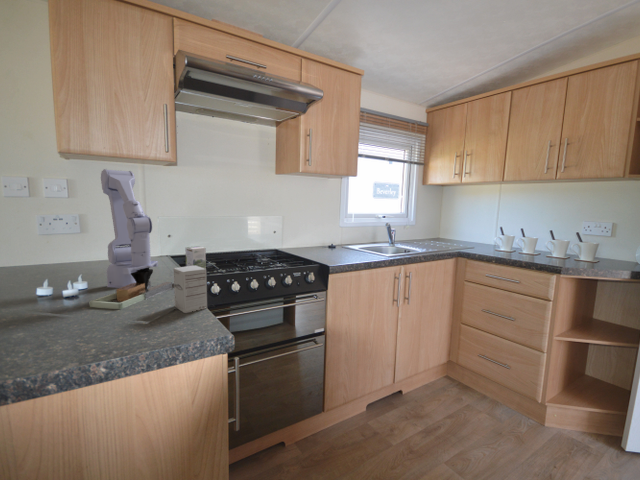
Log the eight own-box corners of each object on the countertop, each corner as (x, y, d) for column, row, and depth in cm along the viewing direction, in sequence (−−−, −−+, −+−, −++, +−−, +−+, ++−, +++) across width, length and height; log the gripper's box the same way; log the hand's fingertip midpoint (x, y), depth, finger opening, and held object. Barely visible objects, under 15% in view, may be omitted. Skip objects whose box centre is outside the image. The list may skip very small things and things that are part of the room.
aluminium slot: (114, 298, 107) (114, 290, 107) (144, 287, 121) (143, 280, 120) (146, 300, 105) (146, 292, 105) (173, 289, 119) (172, 282, 119)
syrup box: (198, 279, 135) (197, 245, 133) (206, 282, 131) (205, 247, 129) (186, 282, 130) (184, 247, 129) (193, 284, 127) (192, 248, 125)
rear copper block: (126, 297, 107) (125, 285, 106) (134, 293, 111) (134, 282, 110) (137, 298, 106) (136, 286, 106) (145, 294, 110) (144, 283, 110)
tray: (89, 308, 97) (89, 301, 97) (117, 298, 107) (116, 292, 107) (120, 311, 95) (120, 303, 95) (145, 300, 106) (145, 293, 105)
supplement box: (174, 307, 99) (172, 267, 97) (197, 302, 104) (196, 264, 103) (183, 314, 94) (182, 271, 92) (208, 308, 99) (206, 268, 97)
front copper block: (117, 301, 103) (116, 289, 102) (126, 297, 107) (125, 285, 106) (128, 302, 102) (127, 289, 102) (137, 298, 106) (136, 286, 106)
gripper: (135, 255, 102) (138, 297, 104) (164, 249, 116) (166, 285, 118) (116, 254, 103) (118, 295, 105) (147, 248, 118) (149, 284, 119)
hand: (142, 290), depth 112 cm, fingers closed
